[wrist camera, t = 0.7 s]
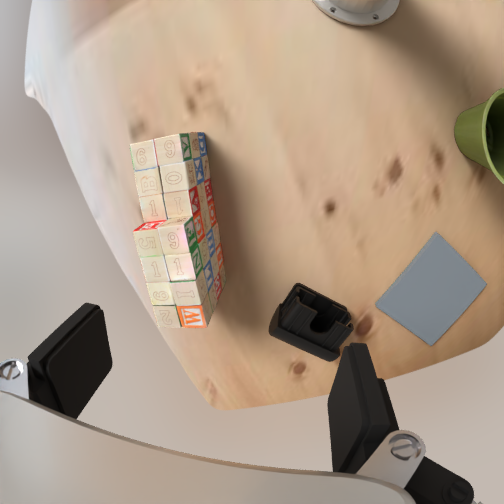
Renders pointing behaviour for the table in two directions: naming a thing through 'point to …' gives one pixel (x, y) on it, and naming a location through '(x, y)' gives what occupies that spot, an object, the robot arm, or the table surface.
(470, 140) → the plant pot
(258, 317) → the table surface
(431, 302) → the slate mat
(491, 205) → the table surface
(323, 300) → the end cap
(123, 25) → the table surface
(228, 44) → the table surface
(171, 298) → the stack of blocks
